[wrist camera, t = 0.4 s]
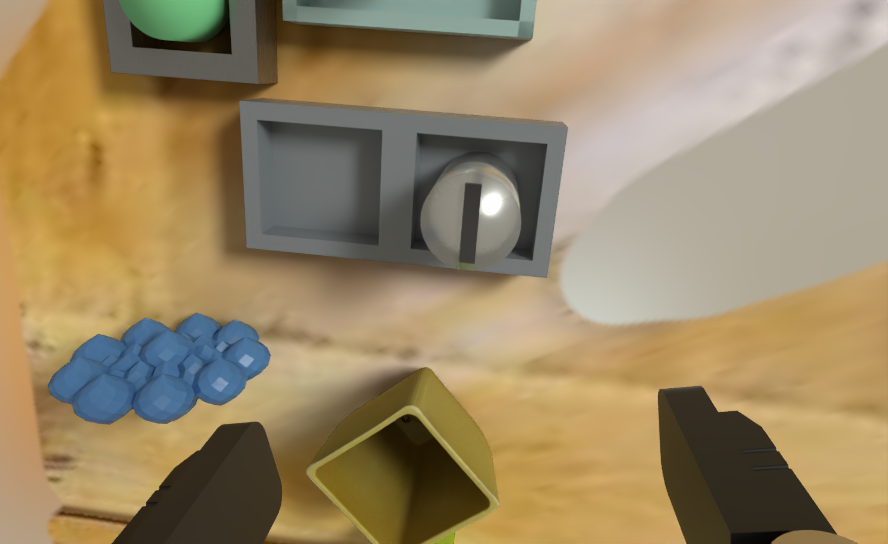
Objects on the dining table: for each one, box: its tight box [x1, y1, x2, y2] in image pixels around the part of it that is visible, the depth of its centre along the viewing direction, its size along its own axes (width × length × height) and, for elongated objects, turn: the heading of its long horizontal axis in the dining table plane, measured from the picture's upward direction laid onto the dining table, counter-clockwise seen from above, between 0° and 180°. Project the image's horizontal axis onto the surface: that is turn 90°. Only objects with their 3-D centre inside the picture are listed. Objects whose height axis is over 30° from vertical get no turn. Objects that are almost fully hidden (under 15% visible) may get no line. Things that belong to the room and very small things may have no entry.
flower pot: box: [306, 367, 499, 544], centre depth 39 cm, size 9×9×9 cm
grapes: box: [48, 313, 271, 424], centre depth 37 cm, size 12×7×12 cm, turn 84°
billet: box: [420, 151, 521, 271], centre depth 32 cm, size 5×5×8 cm
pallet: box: [239, 98, 568, 278], centre depth 36 cm, size 19×9×3 cm, turn 86°
